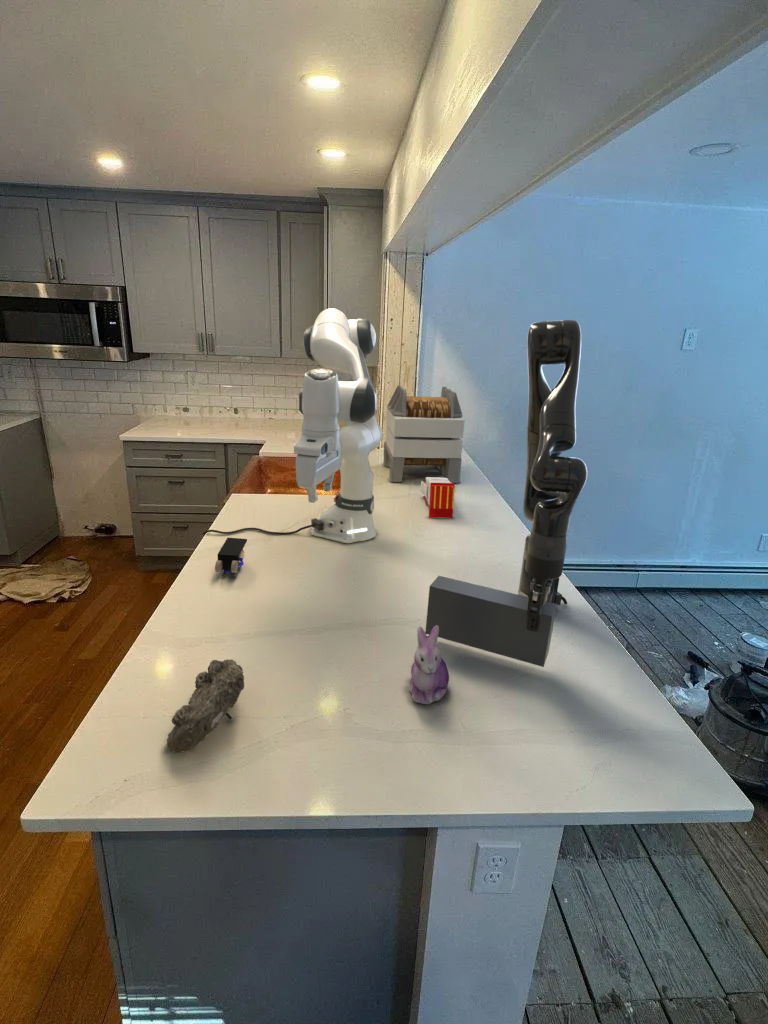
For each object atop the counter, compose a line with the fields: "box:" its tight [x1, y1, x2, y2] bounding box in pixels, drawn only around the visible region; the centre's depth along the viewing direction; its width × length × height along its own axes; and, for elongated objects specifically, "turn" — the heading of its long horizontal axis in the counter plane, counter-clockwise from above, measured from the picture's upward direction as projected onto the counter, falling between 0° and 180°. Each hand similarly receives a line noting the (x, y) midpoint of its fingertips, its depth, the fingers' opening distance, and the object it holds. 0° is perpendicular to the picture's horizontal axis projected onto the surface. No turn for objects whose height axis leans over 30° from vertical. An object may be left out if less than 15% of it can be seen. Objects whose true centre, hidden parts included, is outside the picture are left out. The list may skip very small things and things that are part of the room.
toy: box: [419, 476, 456, 519], centre depth 228 cm, size 12×13×30 cm
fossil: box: [166, 658, 245, 754], centre depth 106 cm, size 22×10×15 cm
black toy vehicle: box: [214, 537, 248, 578], centre depth 166 cm, size 7×8×15 cm
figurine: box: [408, 625, 450, 705], centre depth 115 cm, size 9×10×15 cm
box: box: [425, 575, 558, 668], centre depth 127 cm, size 27×6×12 cm, turn 65°
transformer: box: [383, 384, 465, 484], centre depth 268 cm, size 34×33×41 cm
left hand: (320, 496), depth 138 cm, fingers open, 8 cm apart
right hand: (535, 622), depth 122 cm, fingers closed on box, 6 cm apart
